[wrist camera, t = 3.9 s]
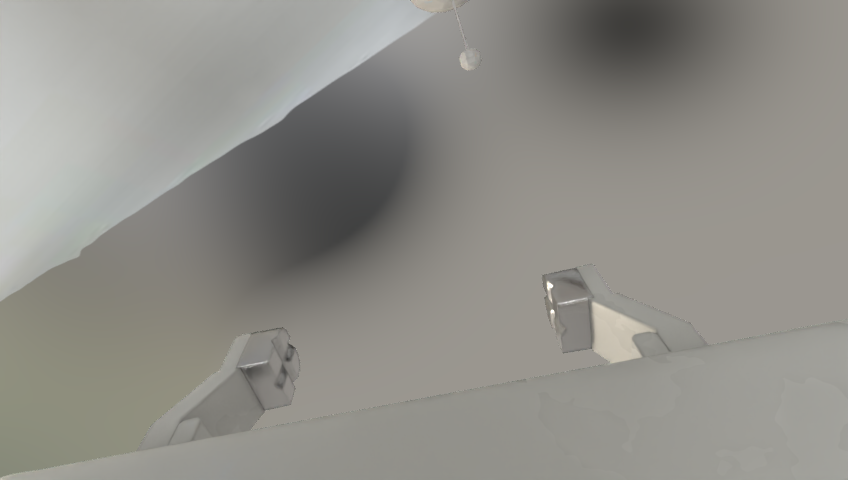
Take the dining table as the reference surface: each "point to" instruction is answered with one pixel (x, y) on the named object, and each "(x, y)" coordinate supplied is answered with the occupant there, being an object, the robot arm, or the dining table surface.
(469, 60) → the slotted white cylinder
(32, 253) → the dining table surface
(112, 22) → the dining table surface
